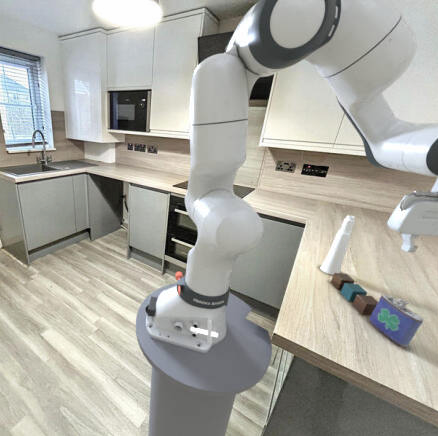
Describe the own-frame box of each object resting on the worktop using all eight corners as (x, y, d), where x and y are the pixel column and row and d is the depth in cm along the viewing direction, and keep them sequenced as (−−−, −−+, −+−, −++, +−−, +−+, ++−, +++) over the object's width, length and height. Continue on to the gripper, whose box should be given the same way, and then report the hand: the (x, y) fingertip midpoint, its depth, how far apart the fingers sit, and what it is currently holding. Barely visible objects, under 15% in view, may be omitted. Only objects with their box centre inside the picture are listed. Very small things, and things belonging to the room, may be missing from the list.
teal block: (348, 301, 72) (353, 291, 71) (340, 293, 76) (344, 282, 75) (362, 302, 72) (367, 292, 70) (353, 294, 76) (358, 284, 74)
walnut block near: (361, 314, 67) (366, 303, 66) (351, 304, 71) (356, 294, 70) (376, 316, 67) (382, 305, 65) (366, 306, 71) (371, 295, 69)
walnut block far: (337, 289, 78) (341, 279, 76) (330, 282, 81) (334, 272, 80) (350, 291, 77) (355, 281, 76) (342, 283, 81) (346, 273, 79)
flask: (409, 348, 58) (430, 314, 53) (398, 348, 57) (418, 314, 53) (374, 319, 66) (389, 288, 62) (364, 319, 66) (379, 288, 62)
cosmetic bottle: (321, 264, 92) (341, 211, 83) (341, 271, 88) (363, 216, 79) (318, 270, 88) (338, 216, 79) (338, 277, 84) (361, 221, 75)
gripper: (422, 194, 45) (391, 255, 51) (544, 201, 43) (499, 265, 49) (394, 186, 51) (369, 242, 56) (501, 192, 49) (465, 250, 54)
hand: (430, 253), depth 53 cm, fingers open, 8 cm apart
